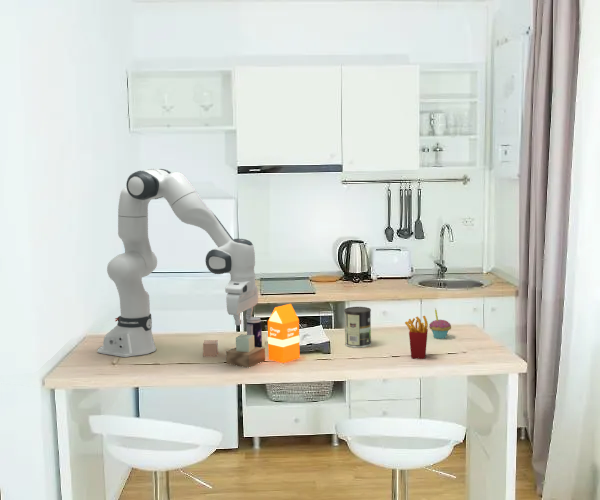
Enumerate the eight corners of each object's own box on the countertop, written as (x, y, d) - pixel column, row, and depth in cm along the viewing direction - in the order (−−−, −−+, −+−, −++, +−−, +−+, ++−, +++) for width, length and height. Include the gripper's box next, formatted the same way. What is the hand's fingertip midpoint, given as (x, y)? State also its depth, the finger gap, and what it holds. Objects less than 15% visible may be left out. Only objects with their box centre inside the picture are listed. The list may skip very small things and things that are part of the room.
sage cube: (236, 351, 276) (235, 337, 275) (242, 347, 280) (241, 334, 280) (248, 352, 274) (248, 338, 273) (254, 348, 279) (254, 335, 278)
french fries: (427, 359, 276) (427, 319, 274) (404, 358, 278) (404, 318, 276) (428, 353, 284) (428, 313, 282) (406, 352, 286) (406, 313, 284)
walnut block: (226, 364, 276) (226, 351, 276) (243, 357, 285) (242, 344, 284) (249, 368, 271) (248, 354, 271) (265, 361, 280) (264, 348, 279)
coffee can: (370, 340, 304) (369, 306, 302) (372, 347, 294) (371, 311, 292) (344, 341, 304) (343, 306, 302) (345, 348, 294) (344, 312, 292)
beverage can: (260, 350, 293) (259, 320, 291) (245, 350, 294) (244, 319, 292) (263, 346, 298) (262, 316, 297) (249, 346, 299) (248, 316, 298)
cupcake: (429, 339, 303) (429, 310, 302) (429, 334, 312) (429, 305, 310) (451, 340, 302) (451, 310, 300) (450, 334, 310) (450, 305, 309)
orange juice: (268, 359, 281) (266, 306, 278) (285, 354, 287) (283, 302, 284) (283, 363, 276) (282, 309, 273) (300, 357, 282) (299, 304, 279)
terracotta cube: (203, 356, 287) (203, 343, 286) (204, 353, 292) (204, 340, 291) (216, 356, 287) (216, 343, 286) (218, 352, 292) (217, 340, 291)
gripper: (246, 278, 285) (246, 314, 287) (223, 288, 266) (223, 327, 268) (262, 279, 283) (262, 316, 285) (239, 290, 263) (240, 329, 265)
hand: (243, 321), depth 276 cm, fingers open, 8 cm apart
